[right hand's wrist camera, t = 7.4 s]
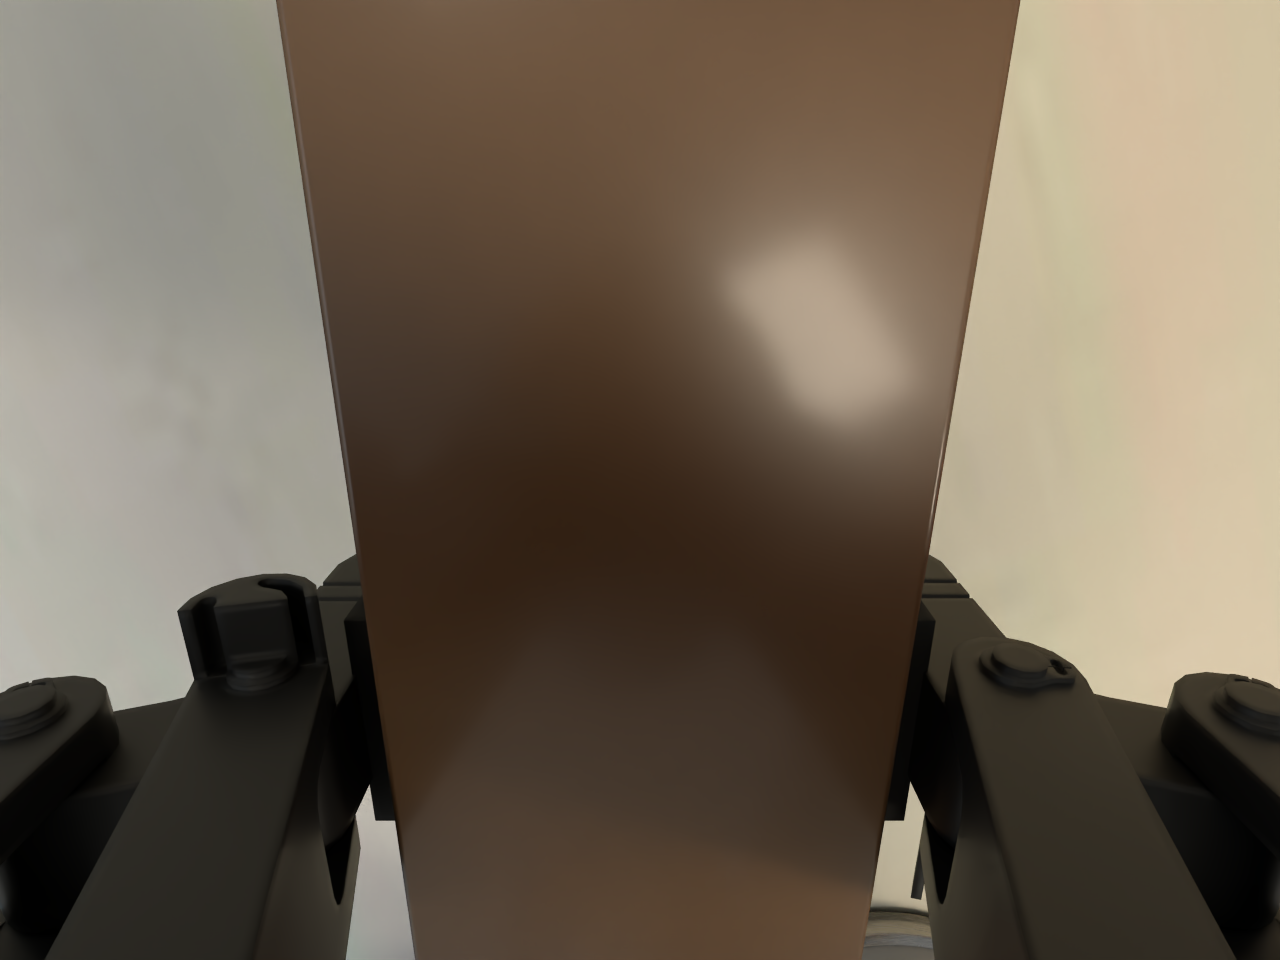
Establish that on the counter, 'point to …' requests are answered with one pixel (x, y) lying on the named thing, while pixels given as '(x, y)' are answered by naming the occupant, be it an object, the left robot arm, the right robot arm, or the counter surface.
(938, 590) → the right robot arm
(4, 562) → the counter surface
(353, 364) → the bar
